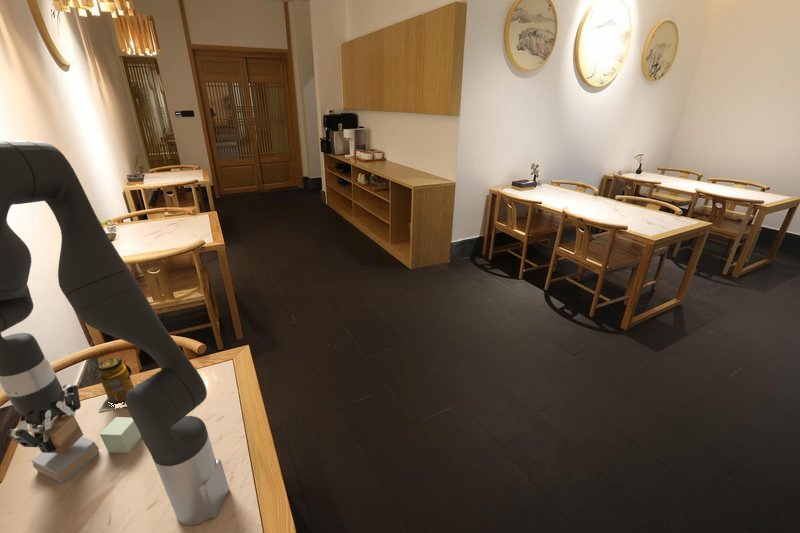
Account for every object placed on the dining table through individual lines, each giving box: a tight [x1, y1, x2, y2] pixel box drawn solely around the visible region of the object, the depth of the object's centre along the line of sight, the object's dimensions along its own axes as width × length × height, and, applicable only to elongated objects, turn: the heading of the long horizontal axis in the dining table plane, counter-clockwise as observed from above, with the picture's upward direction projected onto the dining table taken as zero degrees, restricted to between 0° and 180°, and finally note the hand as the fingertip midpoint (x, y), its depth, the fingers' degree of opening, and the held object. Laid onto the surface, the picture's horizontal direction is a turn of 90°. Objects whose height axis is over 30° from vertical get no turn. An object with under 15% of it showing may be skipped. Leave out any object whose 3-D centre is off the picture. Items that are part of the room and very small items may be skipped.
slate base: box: [31, 435, 100, 484], centre depth 84 cm, size 8×8×4 cm
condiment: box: [97, 356, 135, 413], centre depth 99 cm, size 7×8×12 cm
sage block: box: [99, 416, 142, 454], centre depth 88 cm, size 5×5×6 cm
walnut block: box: [30, 415, 84, 454], centre depth 81 cm, size 5×5×6 cm
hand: (62, 440), depth 82 cm, fingers closed on walnut block, 5 cm apart
